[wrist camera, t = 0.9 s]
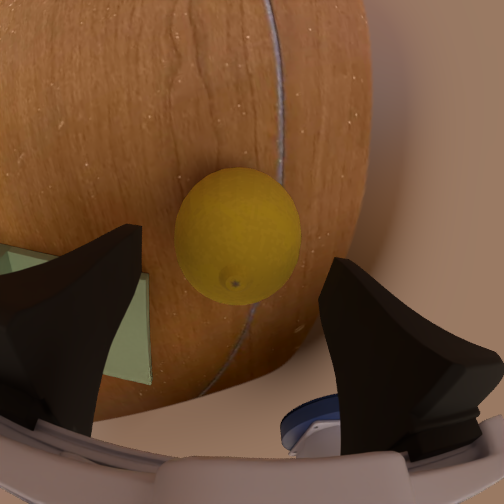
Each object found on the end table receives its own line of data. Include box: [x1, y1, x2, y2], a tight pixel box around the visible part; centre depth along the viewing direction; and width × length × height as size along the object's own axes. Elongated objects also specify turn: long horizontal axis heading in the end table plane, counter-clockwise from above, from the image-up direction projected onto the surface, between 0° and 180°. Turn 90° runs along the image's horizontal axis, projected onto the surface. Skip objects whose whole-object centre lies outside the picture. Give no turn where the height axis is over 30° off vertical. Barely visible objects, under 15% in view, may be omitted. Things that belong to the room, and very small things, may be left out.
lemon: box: [174, 167, 301, 305], centre depth 13 cm, size 6×6×8 cm
